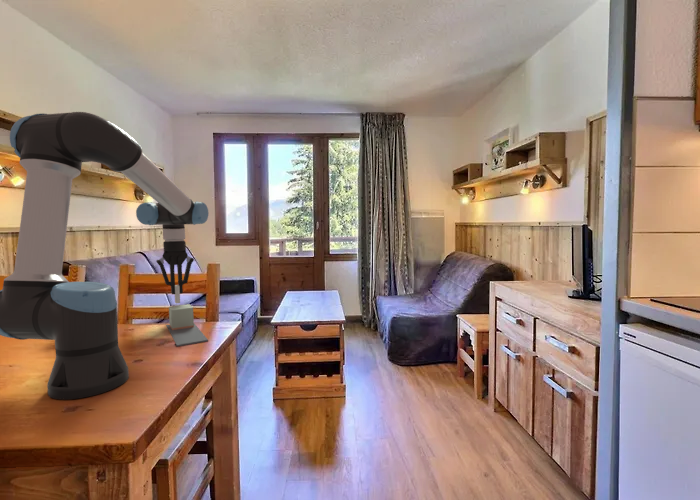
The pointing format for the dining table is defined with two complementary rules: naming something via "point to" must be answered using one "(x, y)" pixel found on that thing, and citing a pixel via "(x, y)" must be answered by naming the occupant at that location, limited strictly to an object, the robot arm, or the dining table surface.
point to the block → (181, 316)
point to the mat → (187, 335)
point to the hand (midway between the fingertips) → (177, 302)
